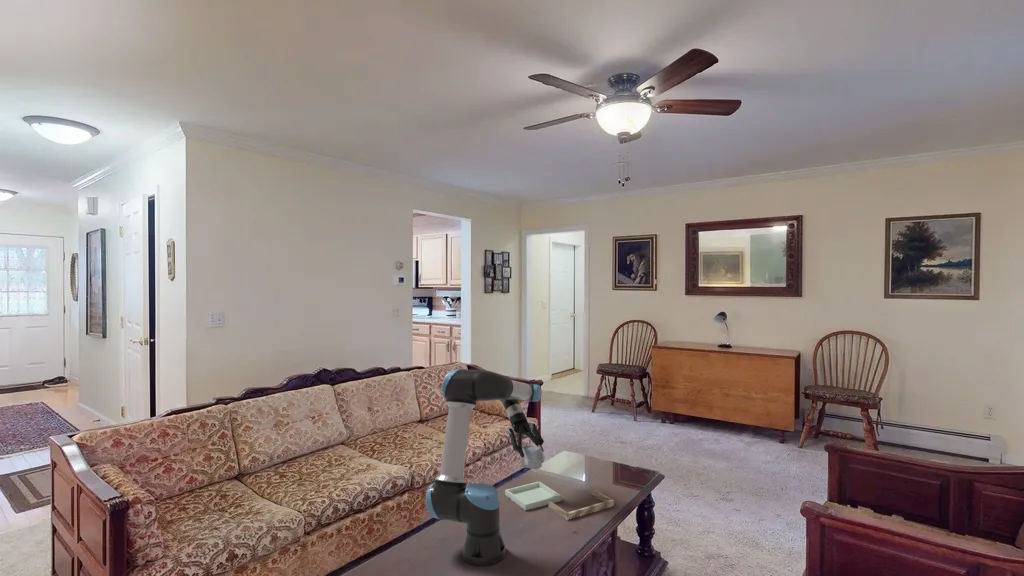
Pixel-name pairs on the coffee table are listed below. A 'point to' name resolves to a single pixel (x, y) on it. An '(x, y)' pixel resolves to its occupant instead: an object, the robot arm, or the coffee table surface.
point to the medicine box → (532, 457)
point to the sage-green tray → (532, 495)
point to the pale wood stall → (583, 511)
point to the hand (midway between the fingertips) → (535, 461)
